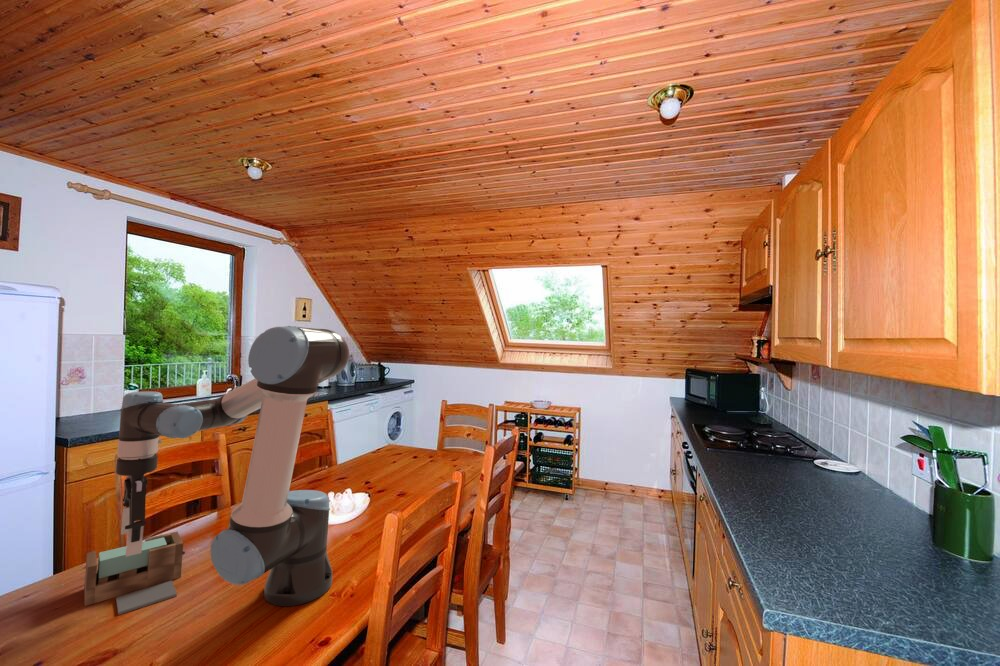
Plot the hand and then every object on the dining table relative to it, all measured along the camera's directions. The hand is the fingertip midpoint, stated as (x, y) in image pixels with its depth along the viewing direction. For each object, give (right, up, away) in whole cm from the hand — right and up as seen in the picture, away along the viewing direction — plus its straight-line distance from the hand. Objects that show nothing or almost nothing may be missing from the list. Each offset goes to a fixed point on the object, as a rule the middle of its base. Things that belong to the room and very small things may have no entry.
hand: (130, 543), depth 99 cm
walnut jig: (0, -10, 0) cm, 10 cm away
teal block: (0, -5, 0) cm, 5 cm away
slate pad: (+8, -10, -5) cm, 14 cm away
